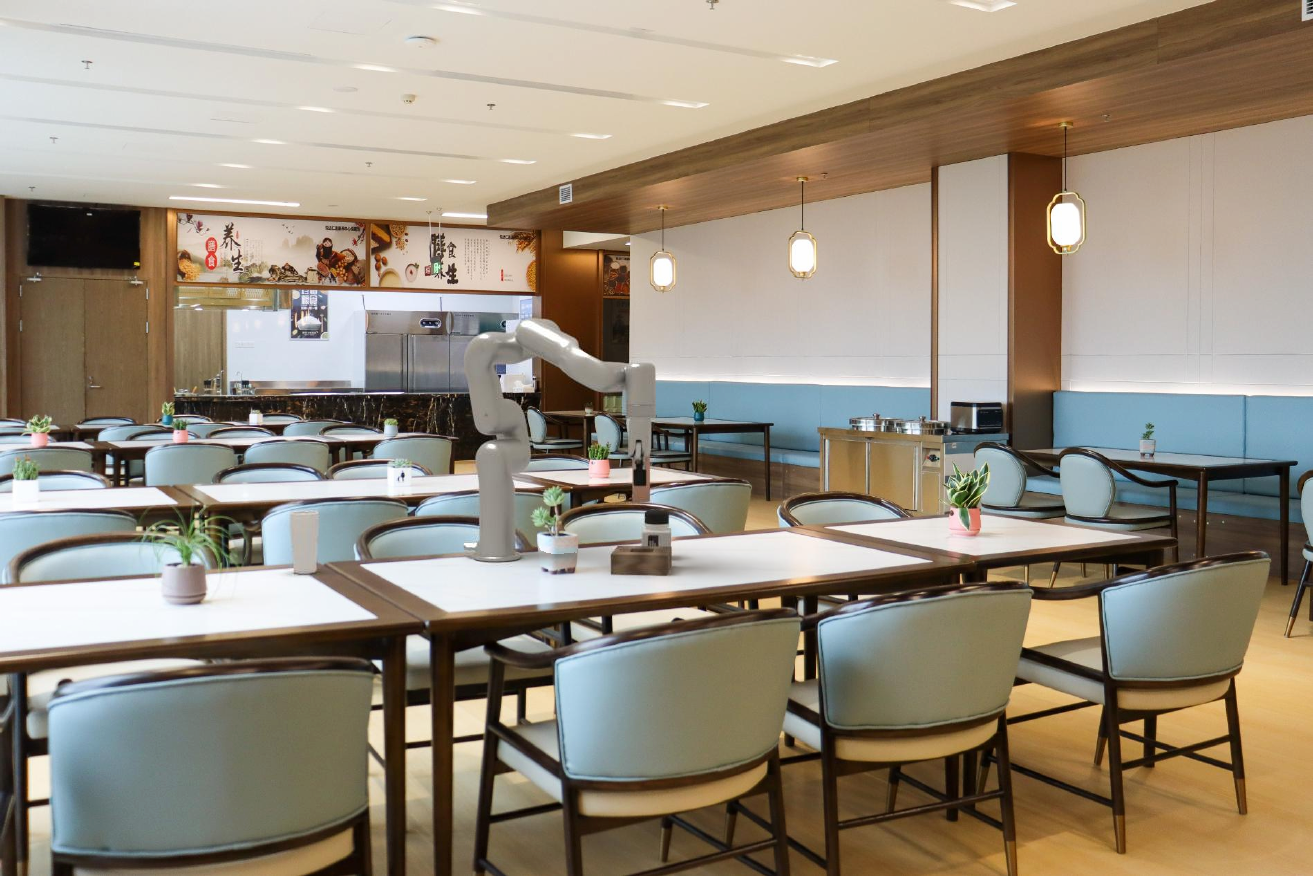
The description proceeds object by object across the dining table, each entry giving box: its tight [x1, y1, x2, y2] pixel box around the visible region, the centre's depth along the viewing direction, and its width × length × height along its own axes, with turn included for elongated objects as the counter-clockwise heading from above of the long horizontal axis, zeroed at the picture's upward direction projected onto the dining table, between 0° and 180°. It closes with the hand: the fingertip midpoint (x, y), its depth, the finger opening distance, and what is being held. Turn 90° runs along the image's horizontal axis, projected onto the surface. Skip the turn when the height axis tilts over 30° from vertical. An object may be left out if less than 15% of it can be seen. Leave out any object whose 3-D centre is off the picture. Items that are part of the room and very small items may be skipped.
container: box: [641, 508, 672, 547], centre depth 311 cm, size 8×8×13 cm
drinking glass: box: [289, 510, 320, 575], centre depth 285 cm, size 7×7×15 cm
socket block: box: [610, 545, 673, 576], centre depth 292 cm, size 14×14×5 cm
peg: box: [631, 453, 651, 503], centre depth 291 cm, size 4×4×12 cm
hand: (641, 484), depth 291 cm, fingers closed on peg, 4 cm apart
